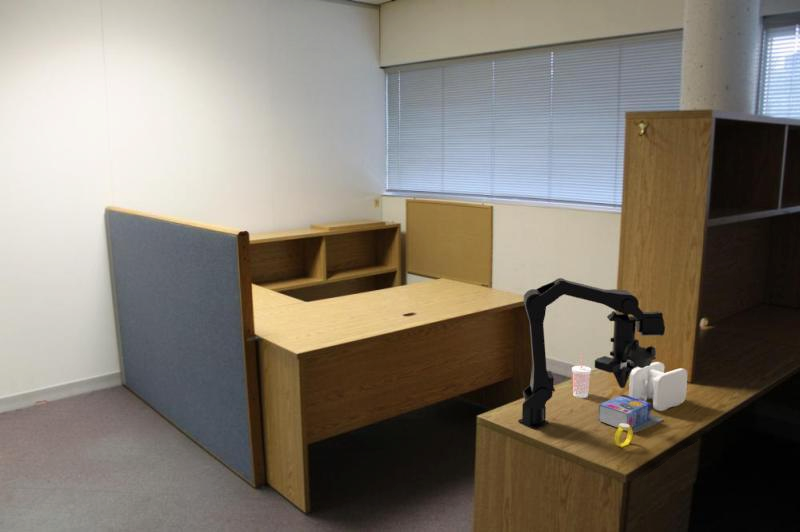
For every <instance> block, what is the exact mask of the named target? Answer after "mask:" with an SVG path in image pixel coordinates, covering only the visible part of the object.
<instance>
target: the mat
mask: <svg viewBox="0 0 800 532" xmlns="http://www.w3.org/2000/svg"><path fill="white" fill-rule="evenodd" d="M597 421H599V417H598V418H597ZM664 421H665V419H664V418H661V417H659V416H656V415H654V414H652V413H651V414H650V420H648V421H646V422H644V423H642V424H640V425H638V426H636V427H634V428H632V431H633V434H635V433H638V432H640V431H643V430H645V429H648V428H649V427H652V426H655V425H657V424H659V423H662V422H664ZM605 424H606V425H609V426H611V427H614V428H616V429H618V427H615V426H612V425H610V424H607V423H605ZM623 431H624V432H627V433H628V431H626V430H623Z"/></svg>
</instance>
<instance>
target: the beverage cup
mask: <svg viewBox="0 0 800 532" xmlns="http://www.w3.org/2000/svg"><path fill="white" fill-rule="evenodd" d="M583 354H584V353H581V354H580V355H581V356H580V365H574V366H572V367H571V373H572V388H573V390H572V391H573V392H572V393H573V396H574V397H575V398H581V399H582V398H583V399H585V398H587V397H589V387H590V379H591V378H590V377H591V373H592V368H591V367H589V366H587V365H583V358H584V356H583Z"/></svg>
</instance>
